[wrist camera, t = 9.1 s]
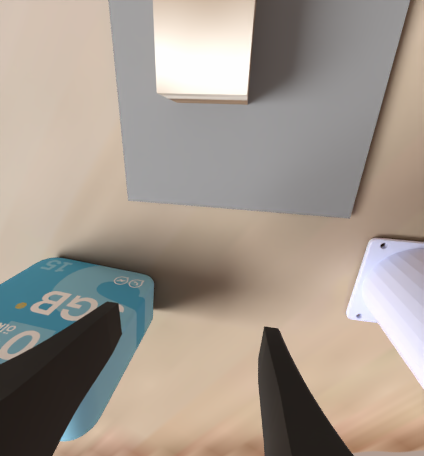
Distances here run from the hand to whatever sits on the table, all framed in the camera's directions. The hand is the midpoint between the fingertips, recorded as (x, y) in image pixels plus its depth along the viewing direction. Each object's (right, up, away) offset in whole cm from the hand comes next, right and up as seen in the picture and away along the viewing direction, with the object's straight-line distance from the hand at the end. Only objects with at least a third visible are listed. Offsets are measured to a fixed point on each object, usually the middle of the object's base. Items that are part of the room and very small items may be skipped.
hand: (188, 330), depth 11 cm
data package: (-10, -1, +14) cm, 17 cm away
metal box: (+1, +17, +4) cm, 18 cm away
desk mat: (+3, +15, +5) cm, 16 cm away
